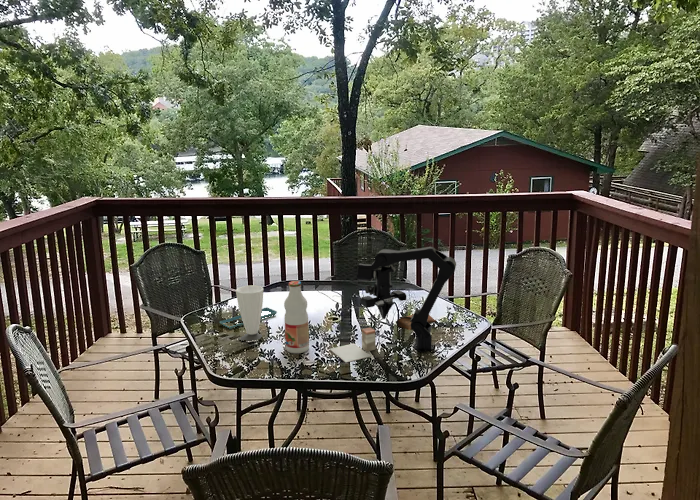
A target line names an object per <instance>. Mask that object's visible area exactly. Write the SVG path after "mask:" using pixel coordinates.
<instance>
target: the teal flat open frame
mask: <svg viewBox="0 0 700 500" xmlns="http://www.w3.org/2000/svg"><path fill="white" fill-rule="evenodd" d="M262 311H269V312H271V314H268V315H264V316H261V319H262V318H265V317H269V316H272V315H275V314H276V315H277V313H278V311H277V310H274V309H272V308H270V307H267V306H266V307H262ZM276 315H275V316H276ZM239 318H242V317H241V314H240V315H237V316H234V317H230V318H227V319H224V320H220V321H219V324H220V325H221V324H222V325H223V326H222V325H221V326H222V327H224V326H225V327H224V328H226V327H227V328H226V329H228V328H229V329H228V330H233V329H232V328H234V327H237V326H240V327H242V326H241V325H243V326H244V324H243V323H239V324H236V325H233V326H230V327H229V326H227V325H225V324H223V323H226V322H230V321H233V320H236V319H239ZM269 318H270V317H269ZM237 328H238V327H237ZM234 329H235V328H234Z"/></svg>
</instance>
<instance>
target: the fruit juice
mask: <svg viewBox="0 0 700 500" xmlns="http://www.w3.org/2000/svg"><path fill="white" fill-rule="evenodd" d="M301 287H302V282H301V281H299V280H292V281H289V282H288V288H289V292H288V296H286V298H285V299H284V303H283V307H284V309H285V313H284V337H285V339H284V340H285V350H286V351H287V352H288V353H291V354H301V353H305V352H307V351H308V350H309V348H310V335H309V334H310V332H309V330H310V329H309V327H310V326H309V314H308V312H307V308H308V300H307V299H306V297H305V296H304V295H303V292H302V288H301Z"/></svg>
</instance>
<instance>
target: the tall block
mask: <svg viewBox="0 0 700 500" xmlns="http://www.w3.org/2000/svg"><path fill="white" fill-rule="evenodd" d="M361 349H362V350H364V351H365V352H371V351H374V350H376V329H374V328H372V327H366V328H365V327H364V328H363V329H362V328H361Z"/></svg>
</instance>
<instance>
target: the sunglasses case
mask: <svg viewBox="0 0 700 500" xmlns="http://www.w3.org/2000/svg"><path fill="white" fill-rule="evenodd" d="M412 315H414V313H413V314H410V315H407V316H402V317H399V318H398V319H397V321H396V326H398V327H401V328H403V329H404V330H409V331H411V330H412V329H411V322H410V320H411V318H412ZM427 321H428V322H429V323H430V324H432V323H436V322H437V320H436V319H434V318H433V317H432V316H431V315H430V314H429V316H428V320H427ZM412 331H413V330H412Z"/></svg>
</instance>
